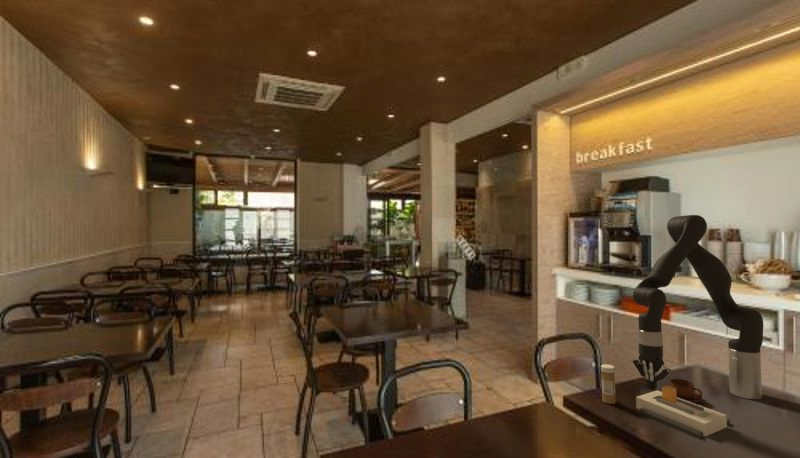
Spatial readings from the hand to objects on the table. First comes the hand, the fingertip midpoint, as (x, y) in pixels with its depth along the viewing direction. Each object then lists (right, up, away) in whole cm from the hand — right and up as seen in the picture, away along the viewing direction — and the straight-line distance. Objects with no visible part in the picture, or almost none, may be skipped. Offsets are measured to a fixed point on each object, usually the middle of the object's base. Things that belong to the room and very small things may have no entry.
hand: (651, 390), depth 141 cm
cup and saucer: (+15, -6, +6) cm, 17 cm away
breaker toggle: (+2, -2, -6) cm, 6 cm away
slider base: (+4, -6, -8) cm, 11 cm away
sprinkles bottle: (-13, -7, +5) cm, 15 cm away
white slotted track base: (+5, -6, -9) cm, 12 cm away
